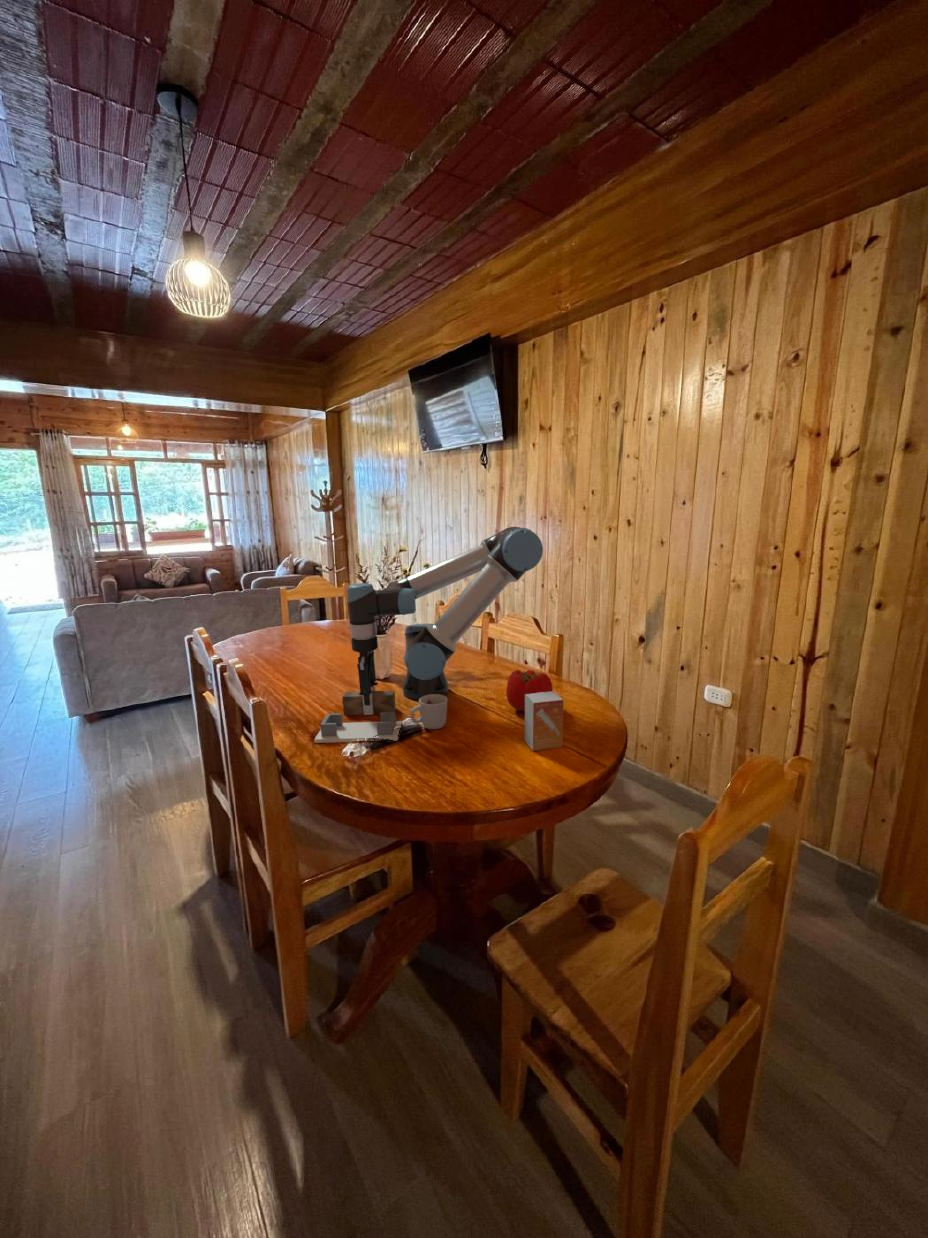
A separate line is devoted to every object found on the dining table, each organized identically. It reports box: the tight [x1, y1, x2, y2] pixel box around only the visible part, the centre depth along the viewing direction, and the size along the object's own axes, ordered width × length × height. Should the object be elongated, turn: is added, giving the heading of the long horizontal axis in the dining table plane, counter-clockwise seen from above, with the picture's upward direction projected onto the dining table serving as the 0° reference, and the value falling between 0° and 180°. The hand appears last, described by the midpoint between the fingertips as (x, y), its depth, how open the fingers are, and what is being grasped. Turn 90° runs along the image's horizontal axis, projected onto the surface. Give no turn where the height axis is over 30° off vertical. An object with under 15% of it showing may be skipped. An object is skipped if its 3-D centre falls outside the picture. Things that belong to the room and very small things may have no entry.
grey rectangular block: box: [341, 689, 396, 716], centre depth 152 cm, size 15×4×6 cm, turn 91°
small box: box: [524, 690, 564, 752], centre depth 127 cm, size 8×6×13 cm
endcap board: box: [314, 712, 403, 744], centre depth 137 cm, size 22×10×4 cm, turn 90°
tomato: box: [505, 669, 554, 712], centre depth 150 cm, size 13×14×12 cm
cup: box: [410, 694, 448, 730], centre depth 140 cm, size 11×8×8 cm
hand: (370, 710), depth 152 cm, fingers open, 5 cm apart
